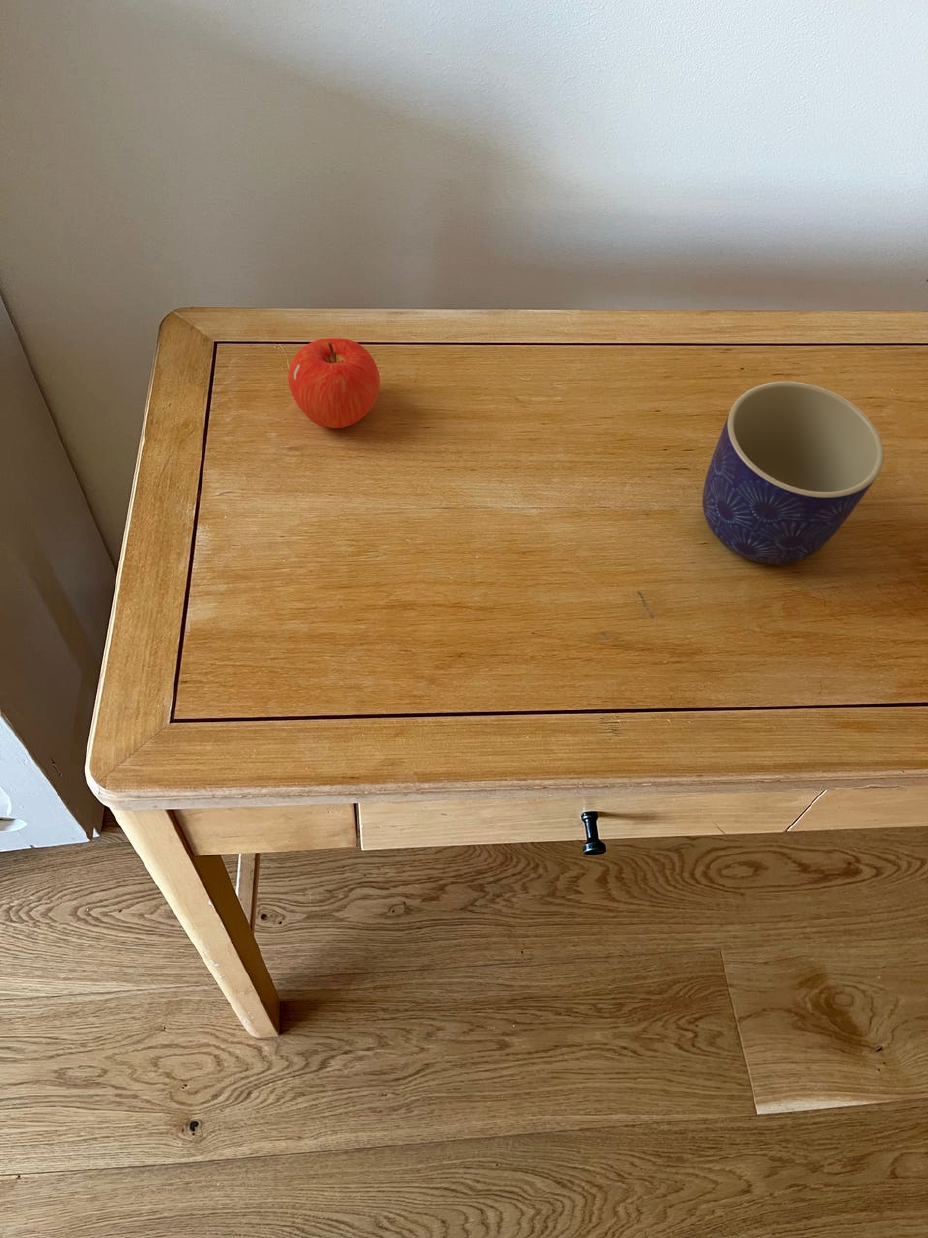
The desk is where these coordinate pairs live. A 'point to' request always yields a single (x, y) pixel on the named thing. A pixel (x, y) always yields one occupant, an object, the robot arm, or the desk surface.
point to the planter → (788, 471)
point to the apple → (334, 381)
